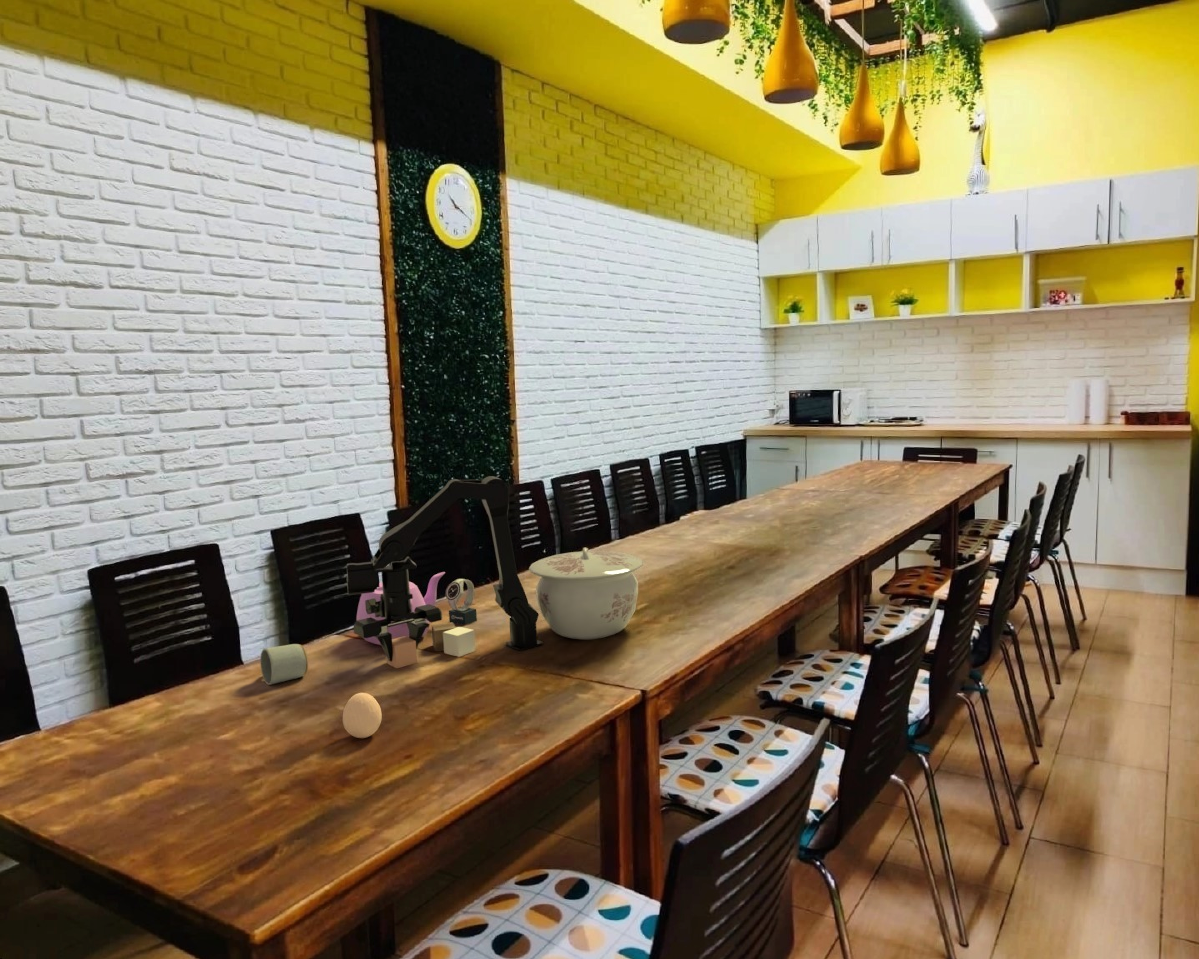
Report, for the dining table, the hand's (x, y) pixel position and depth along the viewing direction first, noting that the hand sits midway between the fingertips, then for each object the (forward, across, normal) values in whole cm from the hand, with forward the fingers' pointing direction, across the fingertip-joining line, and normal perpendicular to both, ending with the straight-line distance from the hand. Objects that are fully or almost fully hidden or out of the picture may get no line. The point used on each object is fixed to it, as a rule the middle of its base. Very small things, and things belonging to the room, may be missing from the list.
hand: (401, 658), depth 191 cm
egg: (+1, +23, +32) cm, 39 cm away
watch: (+1, -26, -18) cm, 32 cm away
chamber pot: (+1, -43, +13) cm, 45 cm away
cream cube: (+1, -13, +3) cm, 13 cm away
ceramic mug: (+1, +23, -10) cm, 25 cm away
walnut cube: (+1, -12, -3) cm, 13 cm away
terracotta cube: (+1, 0, 0) cm, 1 cm away
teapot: (+1, -8, -19) cm, 21 cm away
